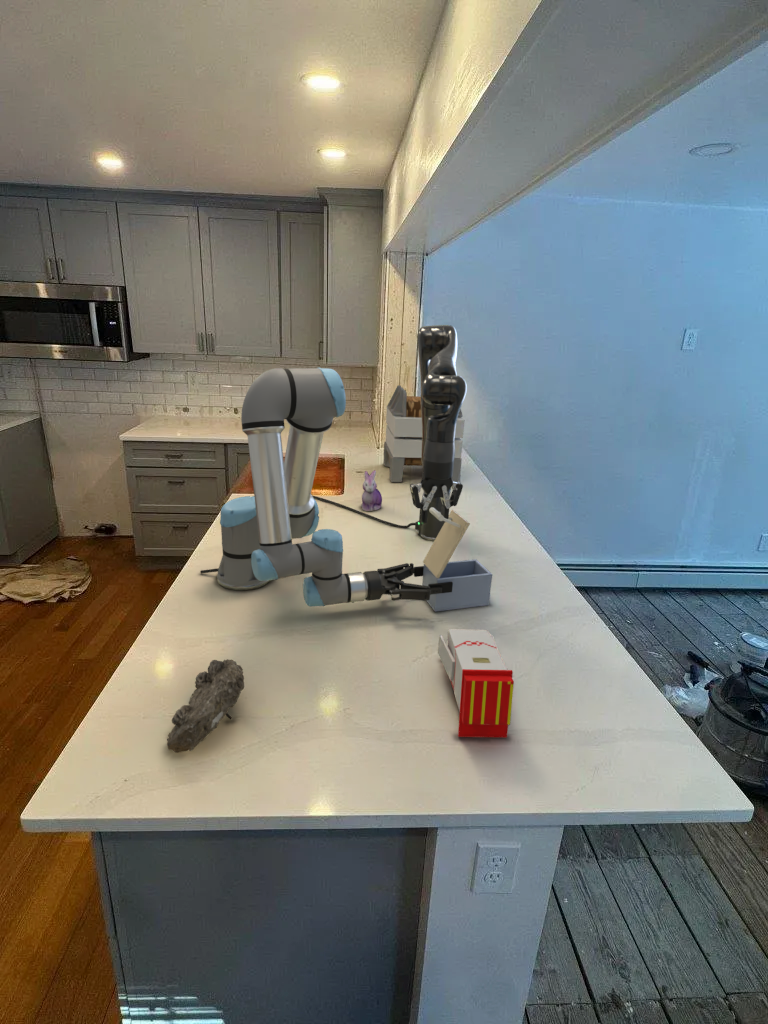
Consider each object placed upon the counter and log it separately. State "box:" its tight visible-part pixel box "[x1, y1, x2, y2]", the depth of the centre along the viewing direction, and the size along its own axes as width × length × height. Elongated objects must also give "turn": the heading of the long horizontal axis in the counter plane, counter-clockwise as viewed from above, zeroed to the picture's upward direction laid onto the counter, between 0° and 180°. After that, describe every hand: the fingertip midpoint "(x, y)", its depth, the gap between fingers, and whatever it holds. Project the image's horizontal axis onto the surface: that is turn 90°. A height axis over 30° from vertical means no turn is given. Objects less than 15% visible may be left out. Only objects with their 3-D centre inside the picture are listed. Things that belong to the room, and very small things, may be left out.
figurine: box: [360, 469, 383, 512], centre depth 222 cm, size 9×10×15 cm
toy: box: [437, 628, 515, 738], centre depth 117 cm, size 12×13×30 cm
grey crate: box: [383, 384, 465, 483], centre depth 268 cm, size 34×33×41 cm
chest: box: [421, 558, 493, 613], centre depth 155 cm, size 16×10×9 cm, turn 107°
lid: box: [422, 507, 471, 579], centre depth 148 cm, size 16×10×8 cm
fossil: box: [166, 658, 245, 754], centre depth 106 cm, size 22×10×15 cm
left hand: (443, 577), depth 153 cm, fingers closed on chest, 10 cm apart
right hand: (433, 521), depth 146 cm, fingers open, 4 cm apart
